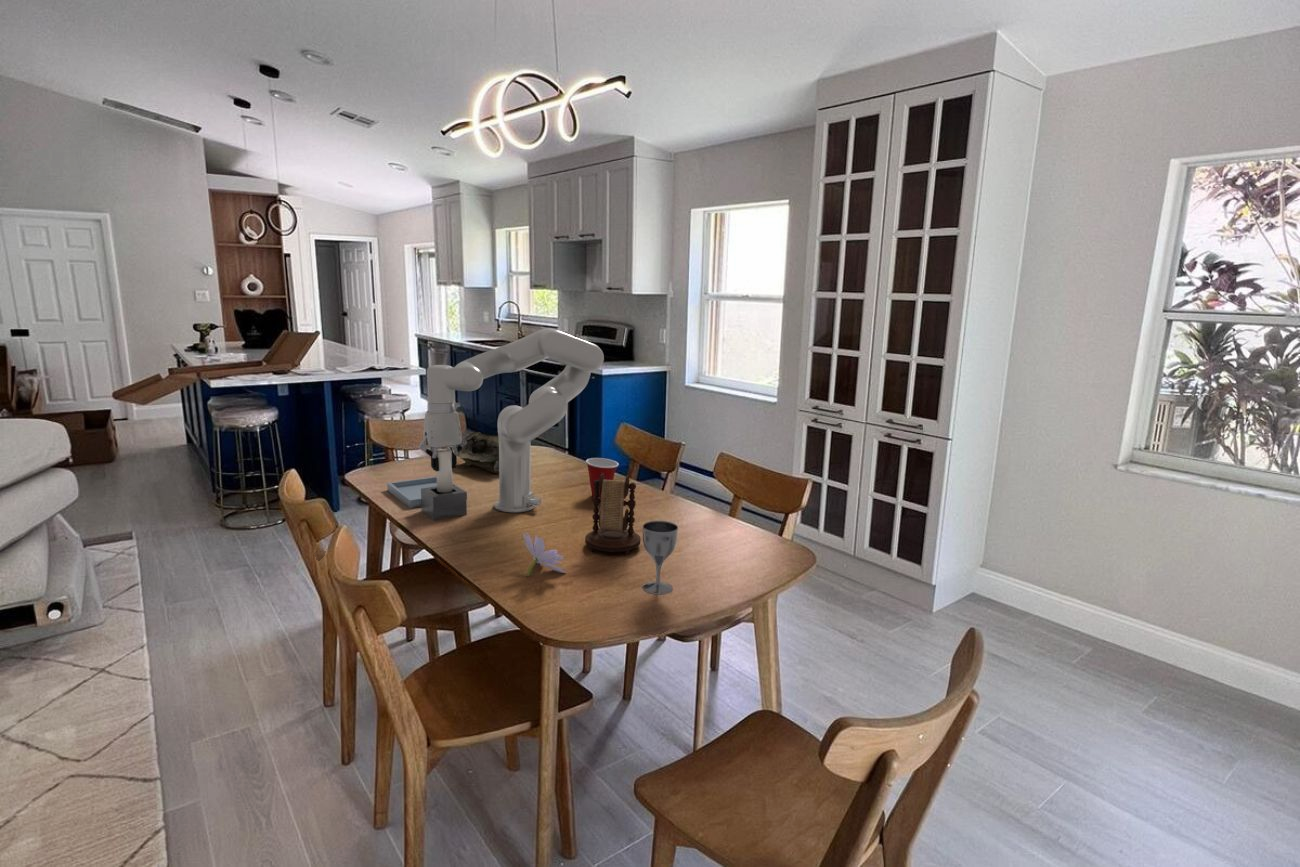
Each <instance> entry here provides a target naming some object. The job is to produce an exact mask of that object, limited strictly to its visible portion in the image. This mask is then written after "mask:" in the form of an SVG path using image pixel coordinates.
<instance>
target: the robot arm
mask: <svg viewBox="0 0 1300 867" xmlns="http://www.w3.org/2000/svg"><path fill="white" fill-rule="evenodd" d="M604 357H605V355H604V352H603V350H602V349H601V348H600V347H599V345H597V344H595V343H592V342H589V341H587V340H584V339H581V338H579V337H575V336H573V335H571V334H568V333H566V332H564V331H561V330H559V329H555V328H551V327H549V328H543V329H540V330H538V331H535V332H532V333H530V334H528V335H526V336H524V337H522V338H519V339H517V340H514V341H512V342H510V343H507V344H504V345H500V346H499V347H496V348H493V349H490V350H488V351H485V352H482V353H479V354H477V355H475V356H472V357H469V358H467V359H464V360H462V361H460V362H459V363H457V364H456V365H455V366H451V365H448V364H434V365H429V366H428V367H427V370H426V381H427V382H426V383H427V385H426V386H427V407H428V412H425V414H424V422H423V434H422V435H423V439H422V440H421V442H420V444H419V445H418V449H419V450H421V451H423V452H425V453H426V454H427V455H428V456H429V457H430V467H431V468H432V470H433V471H434V472H436V471H439V461H438V458H437V451H438V450H439V448H448V447H449V448H448V449H449V450H451V451H452V470H455V469H456V466H457V465H458V460H457V459H458V458H457V457H458V456H457V455H458V452H459V451H460V450H461V449H462V447H464V446H465V445H466V444H467V441H466V440H465V437H464V436H463V434H462V427H461V421H460V417H459V412H458V411H457V408H461V407H460V406H461V403H460V402H456V391H460V392H473V391H476V390H478V389H479V388H481V386H482V385H483V383H484V379H488V378H490V377H492V376H495V375H500V374H505V373H515V372H519V371H522V370H524V369H527V368H528V367H530V366H533V365H535V364H537V363H539V362H543V361H545V360H547V359H552V360H553V361H556V362H559V363H562V364H564V365H565V367H564V369H563V370H562V371H561V372H560V373H558V375H556V376H555V377H553V378H552V379H550V380H549V381H547V382H546V383H544V384H543V385H542V386H540V387H538V388H536V389H535V390H534V391H533V392H532V393H531V394H530V395H529V398H528V404H527V405H525V406H524V407H522V406H519V405H516V404H515V405H508V406H506V407H504V408H503V409H502V410H501V411H500V413H499V414H498V418H497V424H496V425H497V436H498V438H499V474H498V479H499V480H498V485H499V486H498V487H499V489H498V492H499V495H498V497H499V499H497V500H495V502H494V503H493V506H494V507H493V508H494V509H495V510H497V511H499V512H504V513H523V512H528V511H531V510H533V509H535V507H536V506H538V507H540V506H542V498H541V497H535V495H534V494H535V493H534V491H531V489H532V488H531V484H532V483H531V480H532V479H531V471H532V470H531V467H532V465H531V464H532V462H531V459H532V458H531V456H532V451H531V450H532V448H531V442H532V441H533V440H534V439H536V438H537V437H539V436H540V435H542V434H543V433H545V432H547V431H548V430H549V429H551V428H552V427H553V426H555V425H556V424H558V423H559V422H560V421H561V420H562V419H564V417H565V416H566V413H567V410H568V403H569V402H571V401H572V400H573V399H575V398H576V397H577V396H578V395H579V394H581V393H582V392H583V390H584V389H585V388H586V387H587V385H588V384H589V380H590V377H591V373H592V372H595V371H598V370H599V369H600V368H601V367H602V366H603V363H604V361H605V358H604ZM427 446H428V448H427Z"/></svg>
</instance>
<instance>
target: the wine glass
mask: <svg viewBox="0 0 1300 867" xmlns="http://www.w3.org/2000/svg"><path fill="white" fill-rule="evenodd" d="M678 529H679V528H678V525H677V524H676V523H674V522H672V521H667V520H651V521H650V520H649V521H646V522H645V523H643V525H642V540H643V547H644V550H645V551H646V553H647V554H648V555H649V556H650V557H651V559H652V561H653V562H654V564H655V570H656V574H655V575H656V580H651V581H648V582H645V583H644V584H642V586H641V587H642V590H643V591H644V592H646V593H648V594H651V595H665V594H669V593H671V592H672V591H673V590H674V587H673V585H671V584H670V583H668V582H665V581H662V580H660V579H661V578H660V577H661V576H660V575H661V569H662V565H663V563H664V562H665V561H666V559H667V558H668V557H669V556H670V555H672V553H674V550H675V548H676V544H677V540H678V532H679V531H678Z"/></svg>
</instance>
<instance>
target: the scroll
mask: <svg viewBox="0 0 1300 867" xmlns="http://www.w3.org/2000/svg"><path fill="white" fill-rule="evenodd" d="M593 485H594V486H595V487H594V489H595V491H594V496H595V497H593V496H592V497H593V498H592V504H593V506H594V508H593V510H592V512H593V514H592V520H593V521H592V523H593V525H592V531H590V532H588V533H586V535H585V536H584V537H585V539H584V543H585V545H586V546H587V547H589V551H590V552H593V551H594V550H597V551H601V552H602V551H603V552H608V553H613V552H614V553H617V552H624V553H625V555H626V556H628V555H629V553H630V551H631V550H634V549H637V548H638V547H639V546H640V545H641V539H642V538H641V536H640V535H639V534H638V533H636V532H635V529H634V527H633V526H634V525H635V524H634V523H635V522H636V518H635V517H634V516H635V512H634V511H635V510H634V509H635V507H636V500H635V498H636V497H635V496H636V495H635V492H636V490H635V489H636V488H637V485H636V483H635V482H631V483H630V476H629V475H628V474H627V475H626V476H625V479H624V480H617V479H616V480H614V479H613V480H605V479H604V474H603V473H602V474H601V476H600V480H595V481H594V482H593ZM598 489H599V490H598ZM599 493H600V494H601V499H600V498H599ZM628 495H629V496H628ZM627 496H628V498H629V500H626V499H627ZM599 506H600V508H599ZM626 506H627V507H628V508H626V509H625V512H624V507H626Z"/></svg>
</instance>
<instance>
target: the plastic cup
mask: <svg viewBox="0 0 1300 867" xmlns="http://www.w3.org/2000/svg"><path fill="white" fill-rule="evenodd" d="M585 462H586V465H587V470H588V476H589V485H590V490H591V495H592V497H595V496H594V491H595V489H594V487H595V486H594V485H593V482H594V481H595V480H600V476H601V474H602V473H603V474H604V479H605V480H614V478H615V473H616V471H617V468H618V466H619V462H618V461H616V460H613V459H610V458H602V457H591V458H587V459H586V460H585ZM598 490H599V489H598ZM599 498H600V499H601V494H600V493H599Z"/></svg>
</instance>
